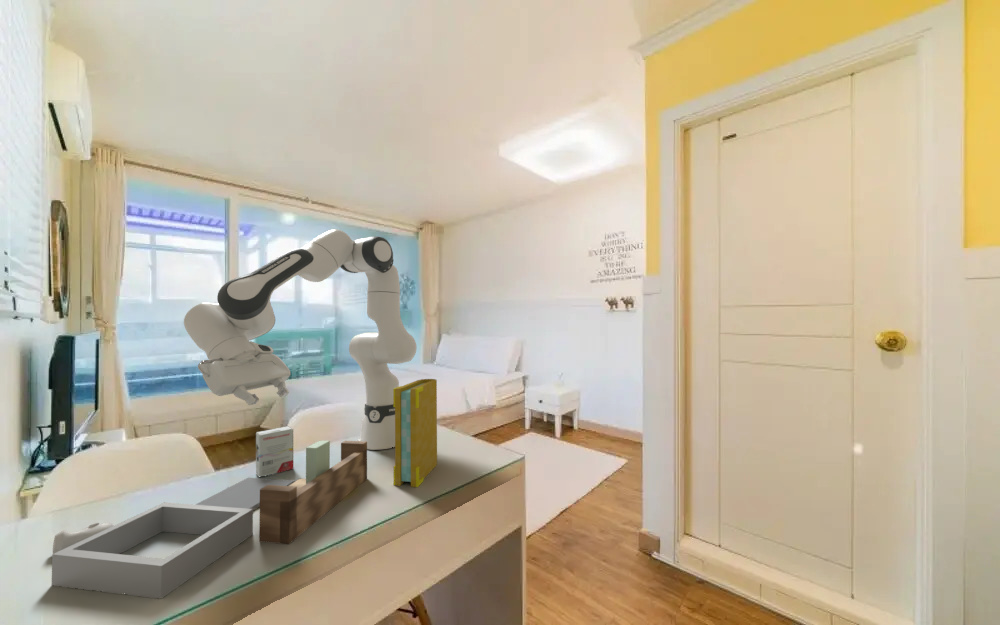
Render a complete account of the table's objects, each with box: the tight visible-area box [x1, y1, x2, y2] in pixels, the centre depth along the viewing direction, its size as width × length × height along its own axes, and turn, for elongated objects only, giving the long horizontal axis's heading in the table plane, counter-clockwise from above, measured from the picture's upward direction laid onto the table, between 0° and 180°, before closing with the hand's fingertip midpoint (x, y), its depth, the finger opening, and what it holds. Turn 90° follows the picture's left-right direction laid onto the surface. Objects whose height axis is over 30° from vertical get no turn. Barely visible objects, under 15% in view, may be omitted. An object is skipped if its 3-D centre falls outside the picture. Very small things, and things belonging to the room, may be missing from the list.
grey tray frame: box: [51, 502, 254, 600], centre depth 65 cm, size 17×21×5 cm
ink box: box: [255, 425, 294, 478], centre depth 103 cm, size 9×5×12 cm, turn 134°
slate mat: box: [194, 477, 296, 511], centre depth 86 cm, size 18×14×1 cm
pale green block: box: [305, 440, 331, 484], centre depth 84 cm, size 5×2×14 cm, turn 172°
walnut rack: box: [258, 440, 368, 545], centre depth 83 cm, size 29×6×10 cm, turn 172°
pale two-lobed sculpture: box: [52, 522, 115, 554], centre depth 69 cm, size 4×8×5 cm
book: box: [393, 378, 438, 488], centre depth 101 cm, size 17×7×25 cm, turn 168°
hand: (270, 398), depth 86 cm, fingers open, 8 cm apart
